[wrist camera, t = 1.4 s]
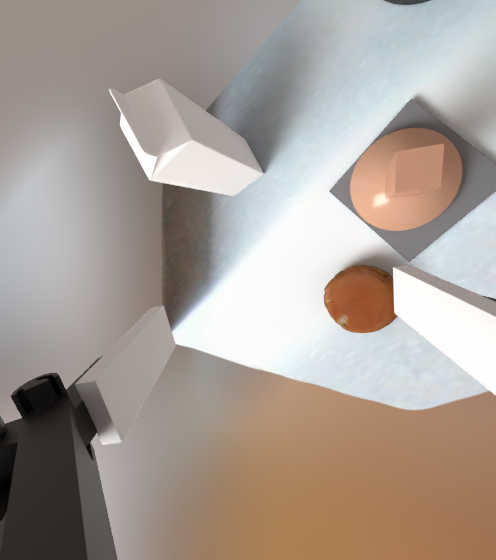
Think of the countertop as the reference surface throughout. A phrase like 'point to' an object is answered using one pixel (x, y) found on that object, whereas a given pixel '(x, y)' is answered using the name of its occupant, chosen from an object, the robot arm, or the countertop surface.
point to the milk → (184, 141)
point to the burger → (361, 299)
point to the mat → (473, 190)
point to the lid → (406, 179)
